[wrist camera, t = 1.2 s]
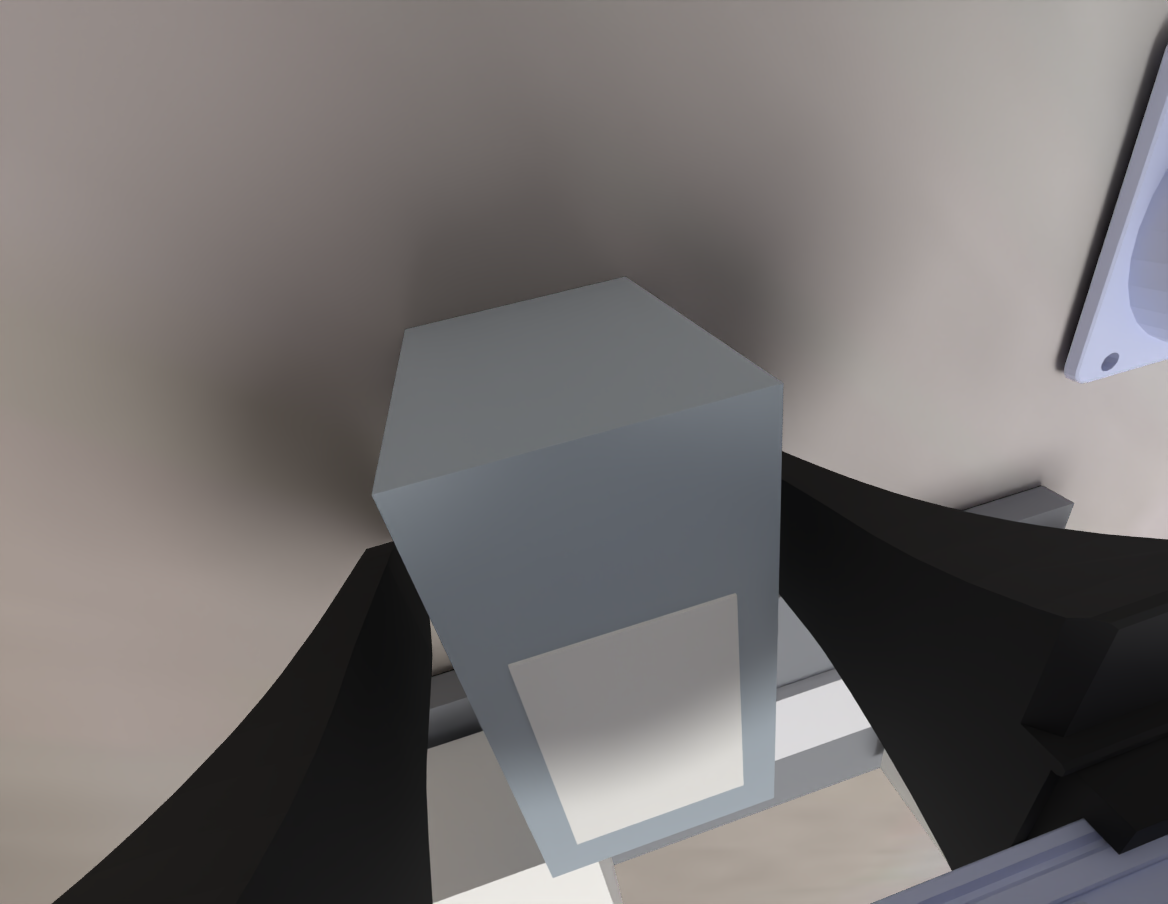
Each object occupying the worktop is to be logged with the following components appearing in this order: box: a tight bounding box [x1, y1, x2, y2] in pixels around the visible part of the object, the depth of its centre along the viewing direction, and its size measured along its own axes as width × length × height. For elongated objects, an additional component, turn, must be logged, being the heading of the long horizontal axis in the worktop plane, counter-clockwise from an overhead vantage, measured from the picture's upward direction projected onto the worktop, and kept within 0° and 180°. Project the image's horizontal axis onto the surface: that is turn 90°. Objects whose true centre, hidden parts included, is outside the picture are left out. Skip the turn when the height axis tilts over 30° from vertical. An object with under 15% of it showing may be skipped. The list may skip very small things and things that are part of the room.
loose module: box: [372, 276, 783, 878], centre depth 10 cm, size 4×9×6 cm, turn 10°
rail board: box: [426, 486, 1074, 904], centre depth 17 cm, size 22×12×5 cm, turn 100°
